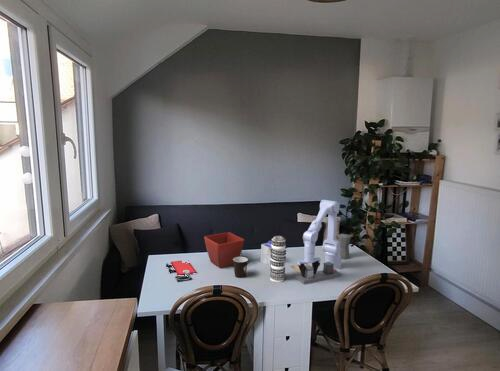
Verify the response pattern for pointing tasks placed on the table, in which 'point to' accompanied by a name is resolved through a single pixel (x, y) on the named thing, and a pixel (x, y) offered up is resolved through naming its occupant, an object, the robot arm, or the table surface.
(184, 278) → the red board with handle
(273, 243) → the decorative candle
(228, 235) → the plant pot
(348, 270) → the table surface
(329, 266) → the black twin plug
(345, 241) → the coffeepot
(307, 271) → the grey plug
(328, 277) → the power strip
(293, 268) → the cork mat
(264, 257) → the ink cartridge box
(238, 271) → the coffee mug
